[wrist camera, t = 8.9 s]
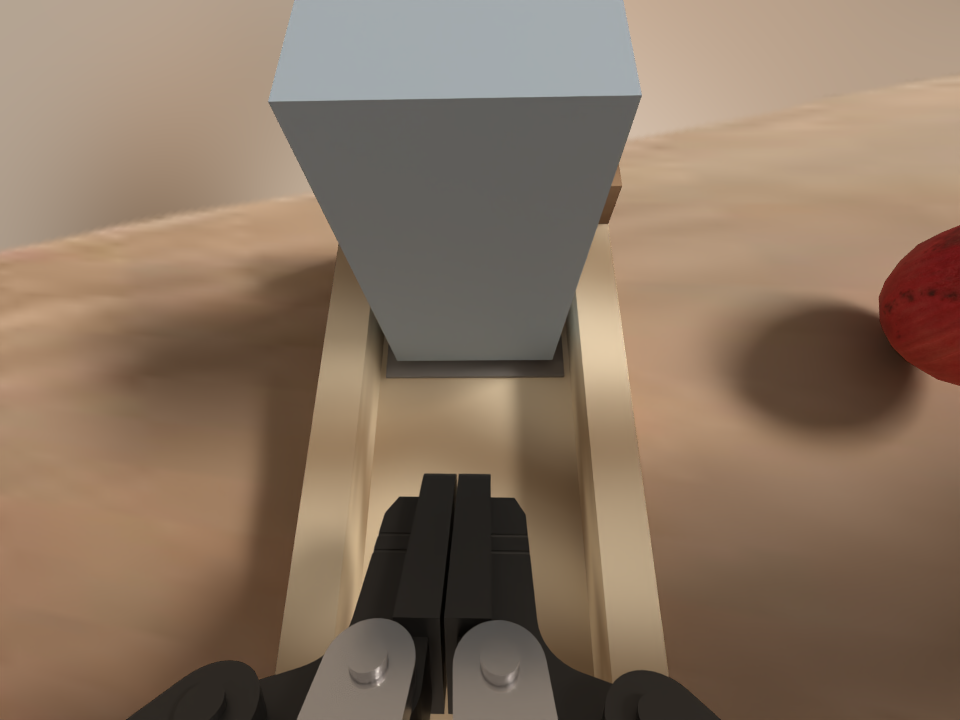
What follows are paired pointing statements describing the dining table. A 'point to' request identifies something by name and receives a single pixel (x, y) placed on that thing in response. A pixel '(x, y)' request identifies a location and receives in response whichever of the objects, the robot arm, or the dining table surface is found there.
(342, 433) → the wooden tray frame
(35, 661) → the dining table surface
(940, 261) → the pomegranate
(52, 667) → the dining table surface
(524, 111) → the block
